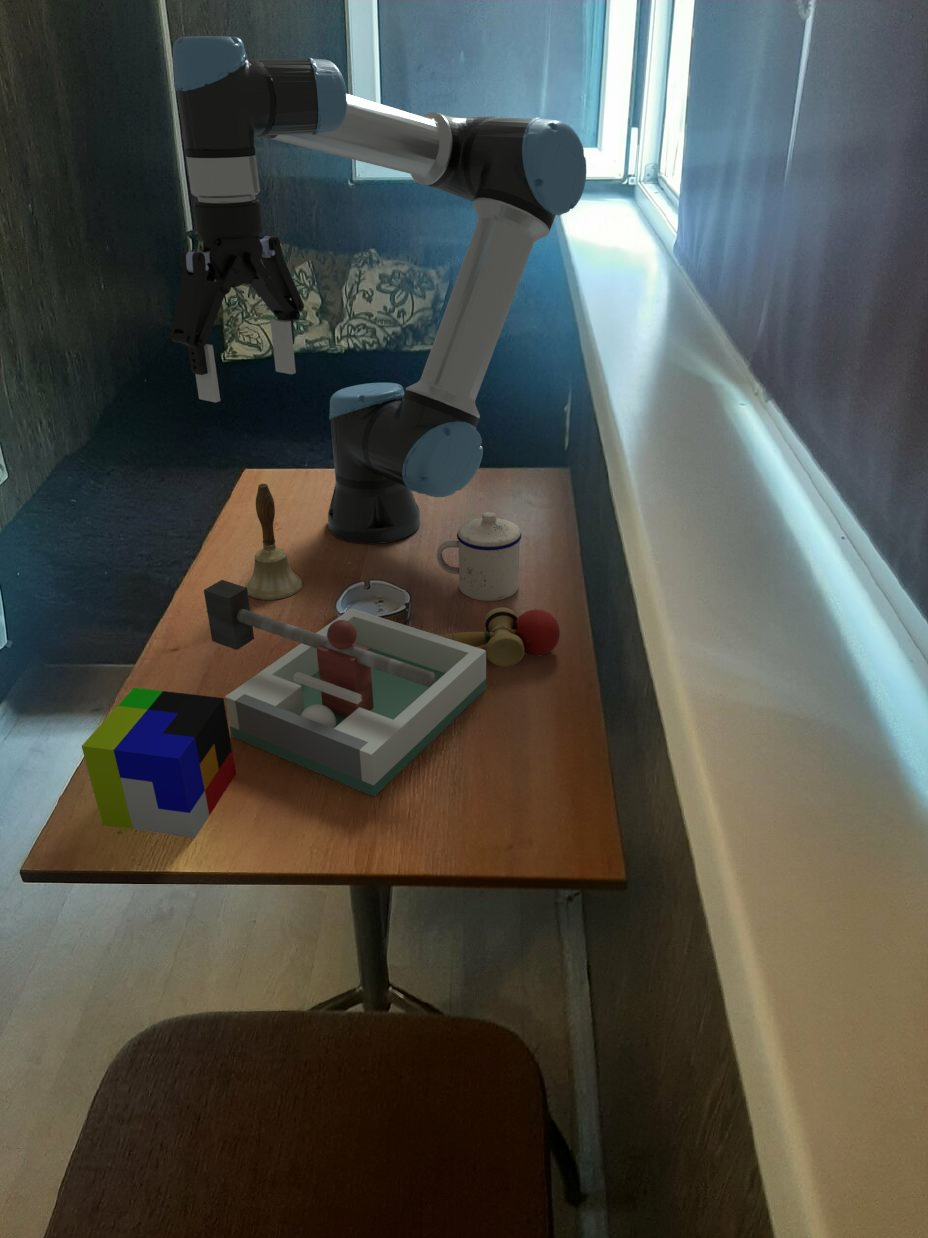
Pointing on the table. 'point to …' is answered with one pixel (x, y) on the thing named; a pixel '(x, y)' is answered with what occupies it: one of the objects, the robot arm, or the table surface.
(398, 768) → the pitch
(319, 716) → the ball
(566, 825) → the table surface
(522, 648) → the kendama
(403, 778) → the table surface
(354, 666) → the striker
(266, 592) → the hand bell
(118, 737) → the puzzle toy
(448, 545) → the teacup with lid
